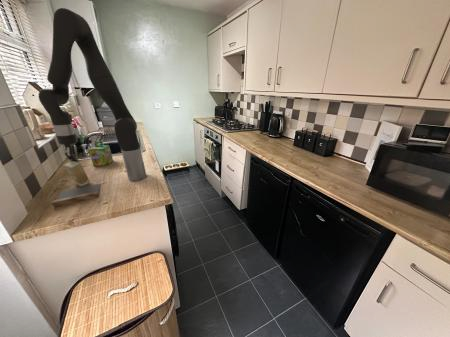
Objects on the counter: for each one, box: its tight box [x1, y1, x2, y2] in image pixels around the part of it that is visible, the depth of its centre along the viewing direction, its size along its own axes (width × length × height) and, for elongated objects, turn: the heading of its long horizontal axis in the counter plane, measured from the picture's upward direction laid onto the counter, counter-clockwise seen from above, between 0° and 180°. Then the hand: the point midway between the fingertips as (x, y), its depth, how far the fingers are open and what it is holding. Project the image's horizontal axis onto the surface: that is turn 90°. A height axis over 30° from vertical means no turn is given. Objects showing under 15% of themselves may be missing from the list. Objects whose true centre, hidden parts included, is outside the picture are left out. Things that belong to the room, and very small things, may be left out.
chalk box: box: [88, 141, 114, 167], centre depth 119 cm, size 9×9×15 cm
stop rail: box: [51, 191, 99, 208], centre depth 81 cm, size 16×2×2 cm, turn 119°
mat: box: [56, 183, 101, 200], centre depth 87 cm, size 16×12×1 cm
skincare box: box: [63, 160, 91, 187], centre depth 92 cm, size 6×4×12 cm
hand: (76, 165), depth 95 cm, fingers closed
